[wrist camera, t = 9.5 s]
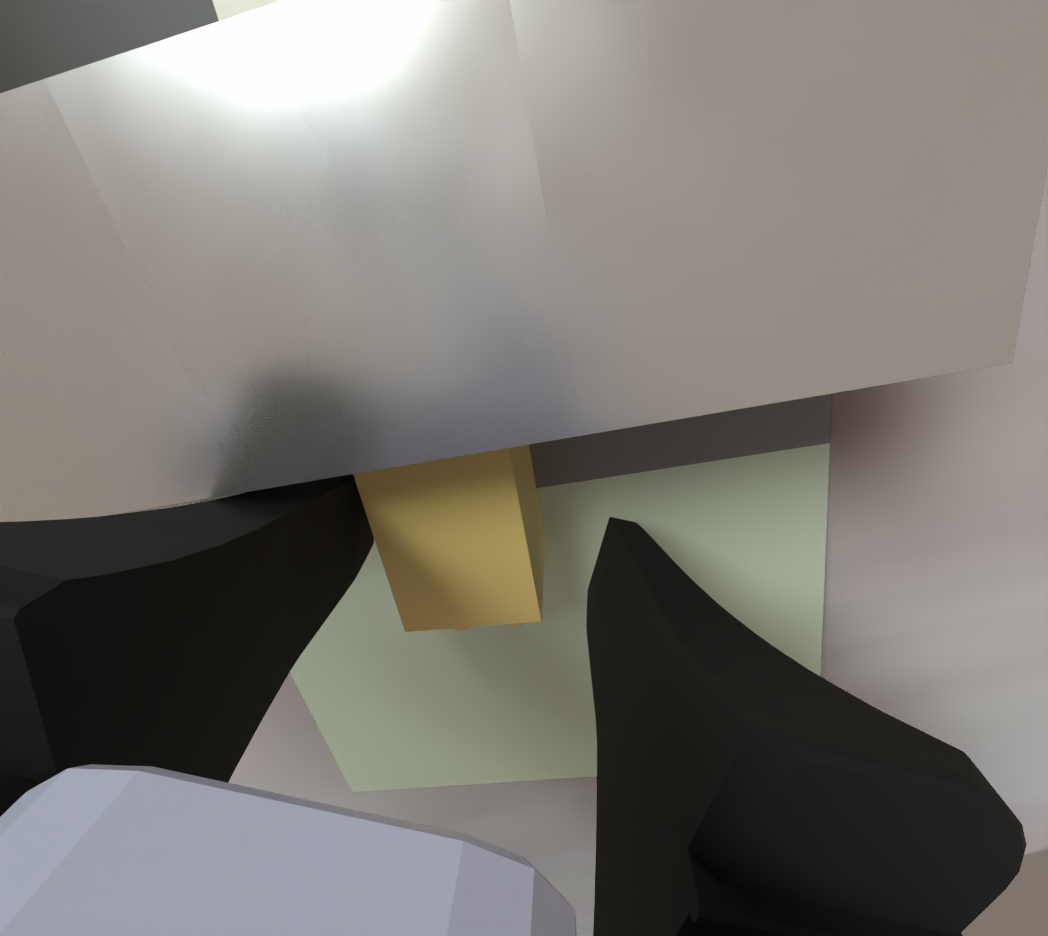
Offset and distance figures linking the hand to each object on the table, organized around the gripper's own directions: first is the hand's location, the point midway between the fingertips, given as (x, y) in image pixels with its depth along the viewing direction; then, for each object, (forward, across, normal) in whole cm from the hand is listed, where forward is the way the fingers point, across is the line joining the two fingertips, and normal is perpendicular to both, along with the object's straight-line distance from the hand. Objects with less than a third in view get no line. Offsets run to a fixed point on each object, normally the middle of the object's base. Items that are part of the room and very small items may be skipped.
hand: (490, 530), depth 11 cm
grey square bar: (+1, +2, -5) cm, 6 cm away
